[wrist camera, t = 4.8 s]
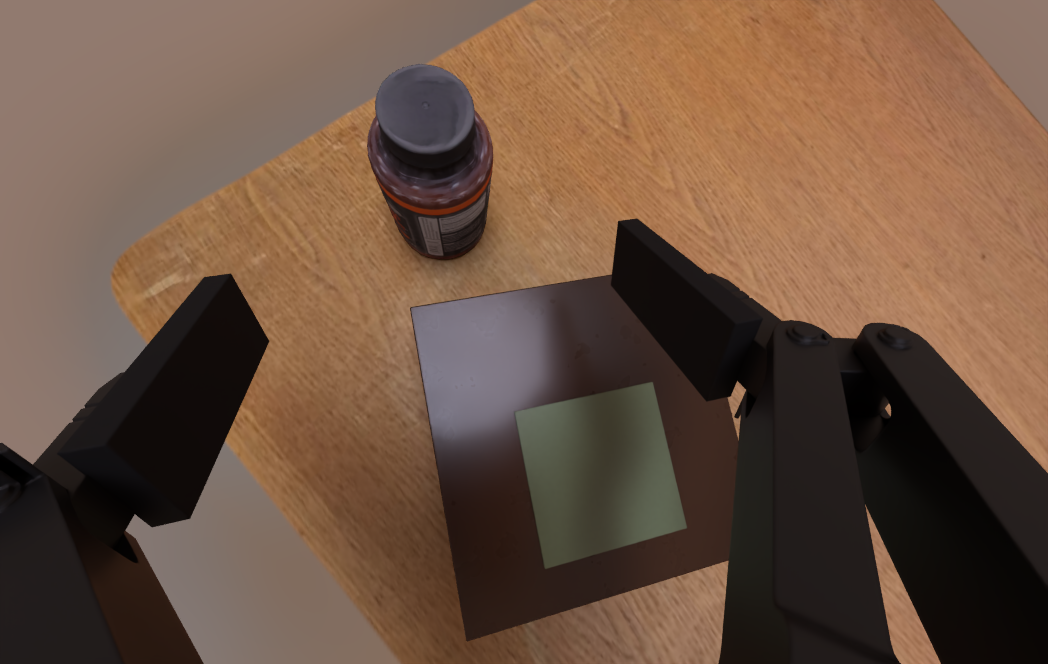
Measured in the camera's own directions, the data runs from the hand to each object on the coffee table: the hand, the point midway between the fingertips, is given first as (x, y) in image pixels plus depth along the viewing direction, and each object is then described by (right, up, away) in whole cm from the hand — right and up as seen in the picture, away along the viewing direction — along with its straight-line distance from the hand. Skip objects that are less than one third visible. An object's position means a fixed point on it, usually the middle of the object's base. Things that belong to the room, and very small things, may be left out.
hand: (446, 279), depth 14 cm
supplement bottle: (-3, +6, +13) cm, 15 cm away
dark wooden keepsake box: (+5, -8, +12) cm, 15 cm away
